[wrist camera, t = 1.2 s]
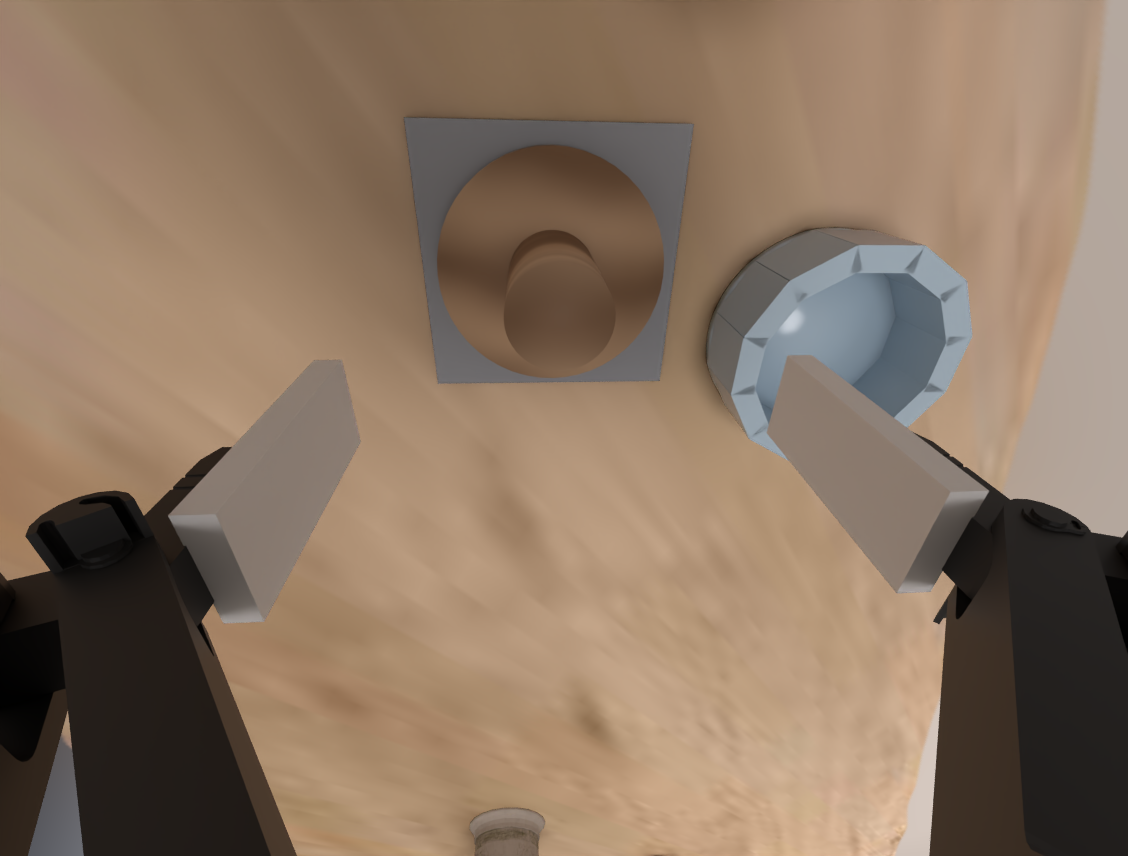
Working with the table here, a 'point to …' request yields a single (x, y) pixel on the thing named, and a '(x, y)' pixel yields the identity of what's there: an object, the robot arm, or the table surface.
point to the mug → (507, 832)
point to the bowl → (840, 323)
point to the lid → (550, 261)
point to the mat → (466, 146)
